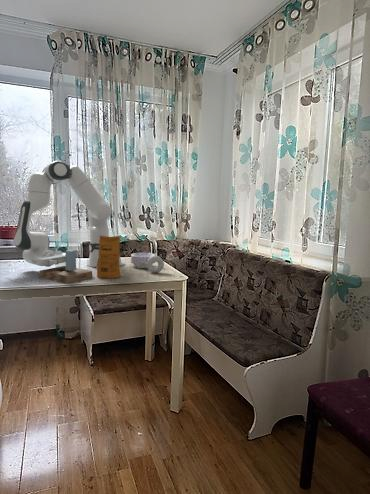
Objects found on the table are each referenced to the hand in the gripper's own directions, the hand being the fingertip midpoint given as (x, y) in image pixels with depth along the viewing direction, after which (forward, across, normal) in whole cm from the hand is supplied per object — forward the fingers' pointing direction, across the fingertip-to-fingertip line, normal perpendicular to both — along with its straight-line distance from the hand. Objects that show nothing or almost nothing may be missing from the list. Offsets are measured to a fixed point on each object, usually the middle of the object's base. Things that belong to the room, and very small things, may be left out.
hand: (64, 261), depth 174 cm
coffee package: (+17, +15, +8) cm, 24 cm away
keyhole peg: (+4, 0, +8) cm, 9 cm away
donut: (+31, +38, +8) cm, 50 cm away
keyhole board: (+1, 0, +8) cm, 8 cm away
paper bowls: (+15, +47, +8) cm, 50 cm away
